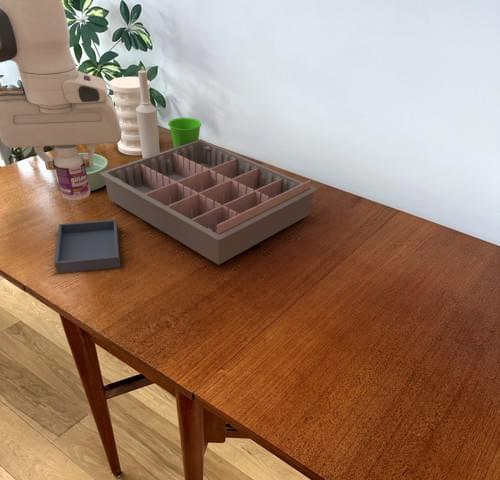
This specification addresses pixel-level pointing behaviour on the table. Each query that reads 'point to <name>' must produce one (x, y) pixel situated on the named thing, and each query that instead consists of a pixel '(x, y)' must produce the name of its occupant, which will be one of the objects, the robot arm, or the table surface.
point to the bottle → (147, 120)
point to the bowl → (95, 171)
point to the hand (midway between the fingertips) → (70, 167)
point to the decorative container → (128, 112)
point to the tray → (87, 246)
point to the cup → (184, 130)
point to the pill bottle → (71, 173)
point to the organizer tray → (209, 198)
